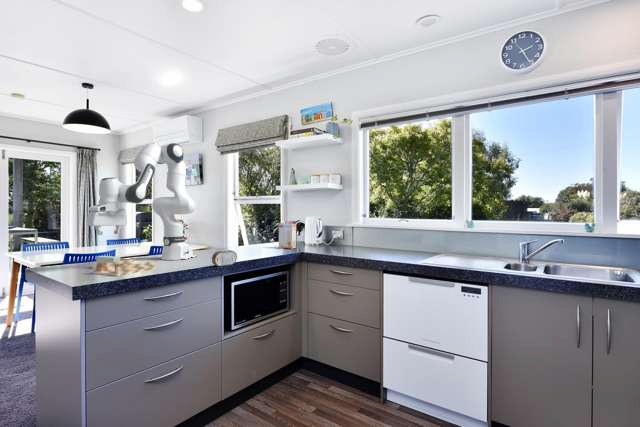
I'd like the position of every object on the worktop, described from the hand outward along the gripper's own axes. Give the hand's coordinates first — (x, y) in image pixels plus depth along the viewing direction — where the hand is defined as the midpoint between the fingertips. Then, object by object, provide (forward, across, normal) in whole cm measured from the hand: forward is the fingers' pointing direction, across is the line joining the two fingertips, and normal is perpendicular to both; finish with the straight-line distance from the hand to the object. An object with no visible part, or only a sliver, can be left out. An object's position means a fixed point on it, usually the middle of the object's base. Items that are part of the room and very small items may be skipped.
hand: (108, 234), depth 179 cm
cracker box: (+17, -124, +46) cm, 134 cm away
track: (+18, +4, +16) cm, 24 cm away
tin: (+18, -30, +51) cm, 62 cm away
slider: (+18, 0, 0) cm, 18 cm away
